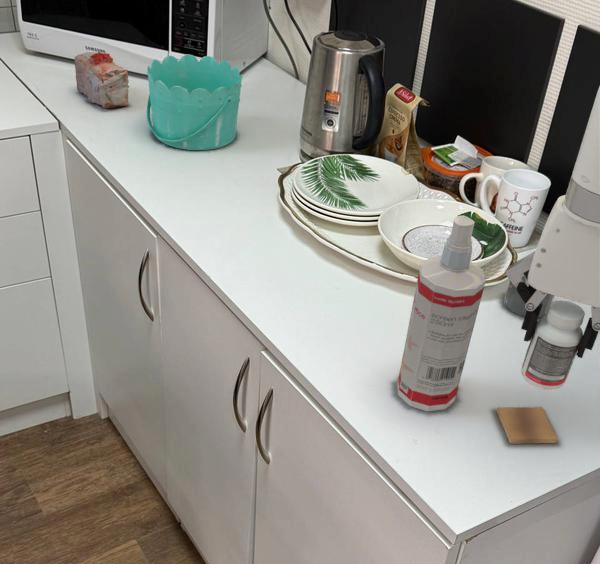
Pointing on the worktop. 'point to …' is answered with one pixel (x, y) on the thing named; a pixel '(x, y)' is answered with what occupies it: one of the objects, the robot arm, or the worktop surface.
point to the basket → (193, 102)
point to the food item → (101, 79)
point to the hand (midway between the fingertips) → (555, 342)
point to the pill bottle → (553, 346)
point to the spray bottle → (441, 323)
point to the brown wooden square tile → (526, 425)
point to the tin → (518, 305)
